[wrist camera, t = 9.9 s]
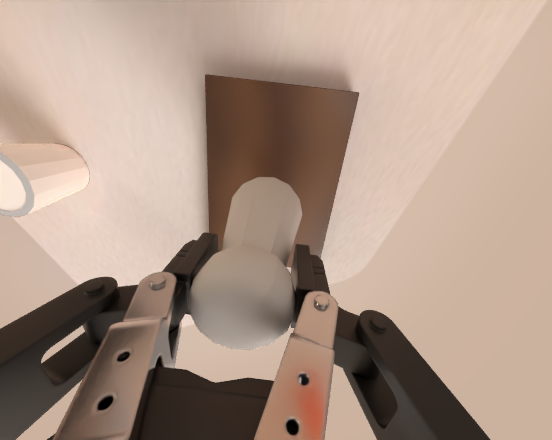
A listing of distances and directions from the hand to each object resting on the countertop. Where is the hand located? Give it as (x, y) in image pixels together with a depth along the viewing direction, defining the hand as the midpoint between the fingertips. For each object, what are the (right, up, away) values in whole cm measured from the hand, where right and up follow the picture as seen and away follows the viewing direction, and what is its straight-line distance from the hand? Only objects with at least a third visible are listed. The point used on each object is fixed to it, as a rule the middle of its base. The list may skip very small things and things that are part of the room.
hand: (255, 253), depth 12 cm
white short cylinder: (-24, +8, +14) cm, 29 cm away
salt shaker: (+1, +4, +8) cm, 8 cm away
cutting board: (+1, +6, +13) cm, 15 cm away
